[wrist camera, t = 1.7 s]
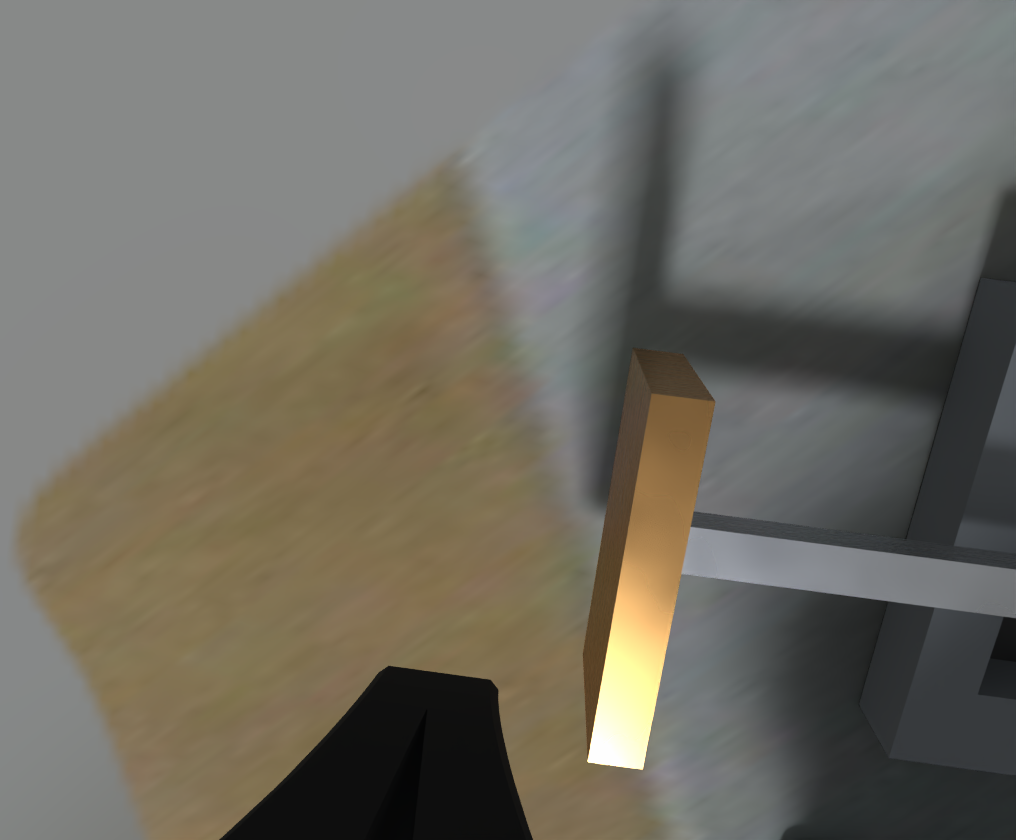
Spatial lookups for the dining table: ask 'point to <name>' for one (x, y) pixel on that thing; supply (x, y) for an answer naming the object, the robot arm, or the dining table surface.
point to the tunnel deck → (968, 523)
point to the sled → (724, 556)
